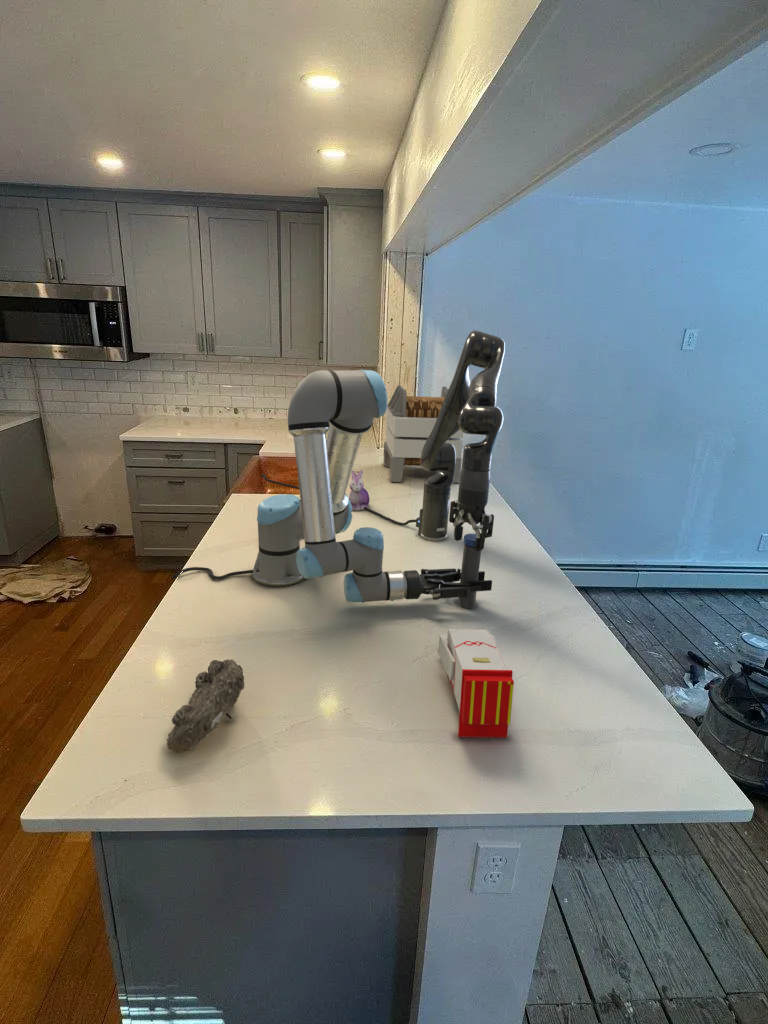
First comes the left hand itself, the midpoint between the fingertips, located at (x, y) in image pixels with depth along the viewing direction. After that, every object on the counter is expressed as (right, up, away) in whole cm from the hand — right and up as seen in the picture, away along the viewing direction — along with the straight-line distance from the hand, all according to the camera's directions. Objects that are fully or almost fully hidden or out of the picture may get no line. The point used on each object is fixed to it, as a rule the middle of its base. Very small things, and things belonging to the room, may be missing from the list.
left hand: (487, 580), depth 153 cm
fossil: (-61, -21, -45) cm, 78 cm away
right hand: (-6, +10, -5) cm, 13 cm away
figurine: (-38, +20, +71) cm, 83 cm away
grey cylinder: (-5, -6, +1) cm, 9 cm away
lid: (-5, +12, -5) cm, 14 cm away
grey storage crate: (-11, +37, +122) cm, 128 cm away
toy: (-10, -19, -34) cm, 41 cm away
